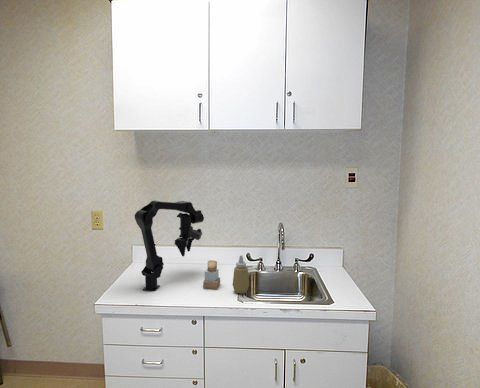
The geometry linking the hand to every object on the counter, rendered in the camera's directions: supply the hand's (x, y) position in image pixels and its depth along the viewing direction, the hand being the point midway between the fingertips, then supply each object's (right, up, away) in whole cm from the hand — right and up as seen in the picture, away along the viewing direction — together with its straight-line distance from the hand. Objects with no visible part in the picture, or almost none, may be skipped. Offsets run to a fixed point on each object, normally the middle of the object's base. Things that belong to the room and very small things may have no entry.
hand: (186, 253), depth 193 cm
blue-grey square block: (+14, -11, -11) cm, 21 cm away
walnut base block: (+15, -15, -11) cm, 24 cm away
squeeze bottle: (+29, -16, -17) cm, 37 cm away
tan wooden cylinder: (+15, -6, -12) cm, 20 cm away
